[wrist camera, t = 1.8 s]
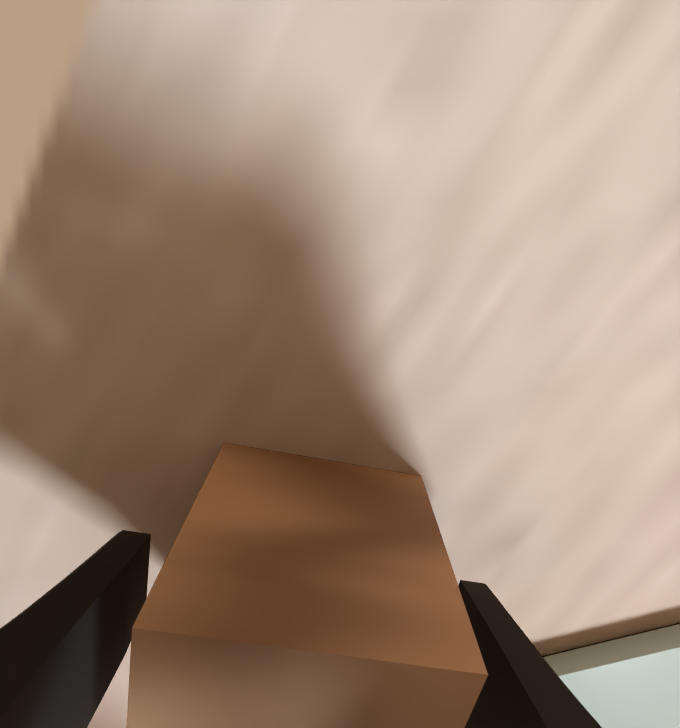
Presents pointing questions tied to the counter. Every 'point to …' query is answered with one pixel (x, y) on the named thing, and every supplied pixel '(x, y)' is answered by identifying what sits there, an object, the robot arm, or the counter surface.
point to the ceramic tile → (626, 679)
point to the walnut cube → (304, 605)
